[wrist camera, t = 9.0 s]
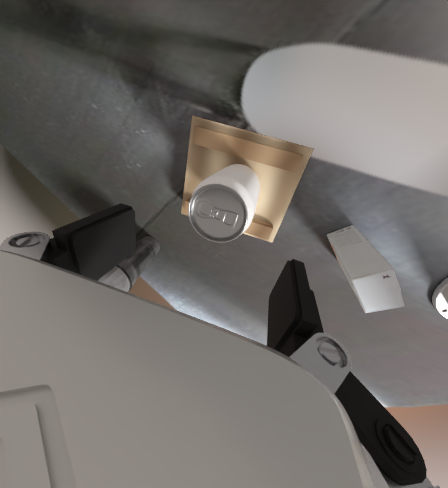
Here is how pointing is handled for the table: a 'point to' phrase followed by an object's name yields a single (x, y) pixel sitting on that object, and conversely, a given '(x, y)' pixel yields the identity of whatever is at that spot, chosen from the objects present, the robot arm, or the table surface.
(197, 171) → the plinth
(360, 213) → the table surface
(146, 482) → the robot arm
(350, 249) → the skincare box
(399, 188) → the table surface
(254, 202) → the can
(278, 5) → the table surface
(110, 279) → the beverage cup
